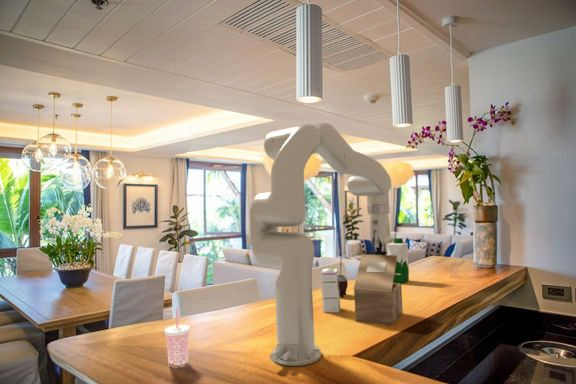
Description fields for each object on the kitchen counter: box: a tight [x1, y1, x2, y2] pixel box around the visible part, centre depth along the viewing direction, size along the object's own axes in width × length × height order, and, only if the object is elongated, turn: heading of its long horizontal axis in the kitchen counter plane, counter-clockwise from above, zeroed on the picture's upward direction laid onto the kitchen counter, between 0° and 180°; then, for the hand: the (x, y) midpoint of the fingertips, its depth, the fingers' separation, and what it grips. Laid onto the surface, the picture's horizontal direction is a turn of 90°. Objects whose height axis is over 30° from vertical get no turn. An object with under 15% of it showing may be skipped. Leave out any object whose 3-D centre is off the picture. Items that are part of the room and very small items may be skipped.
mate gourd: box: [338, 256, 349, 298], centre depth 157 cm, size 8×8×15 cm
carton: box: [353, 283, 404, 326], centre depth 126 cm, size 14×12×10 cm
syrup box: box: [320, 268, 341, 313], centre depth 136 cm, size 6×6×14 cm
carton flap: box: [353, 254, 397, 293], centre depth 124 cm, size 14×12×1 cm
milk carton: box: [386, 237, 410, 285], centre depth 178 cm, size 9×9×20 cm
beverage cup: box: [164, 307, 191, 365], centre depth 95 cm, size 6×6×14 cm
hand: (381, 262), depth 131 cm, fingers closed
